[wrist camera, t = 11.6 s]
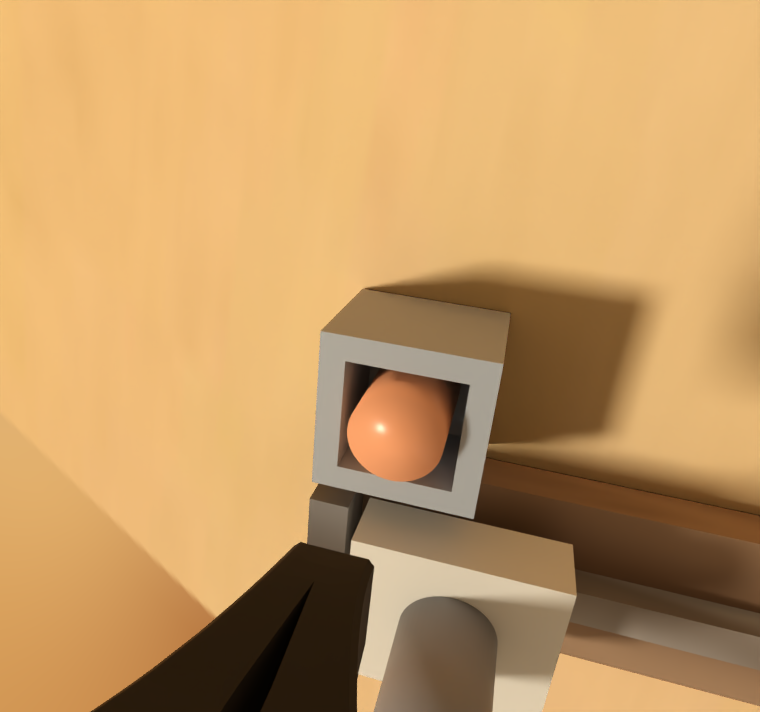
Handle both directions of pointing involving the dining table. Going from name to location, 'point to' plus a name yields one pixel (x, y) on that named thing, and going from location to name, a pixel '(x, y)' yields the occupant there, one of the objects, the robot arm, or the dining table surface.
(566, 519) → the rail board
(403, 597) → the carriage
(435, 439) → the orange cylindrical peg
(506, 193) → the dining table surface
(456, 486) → the box
